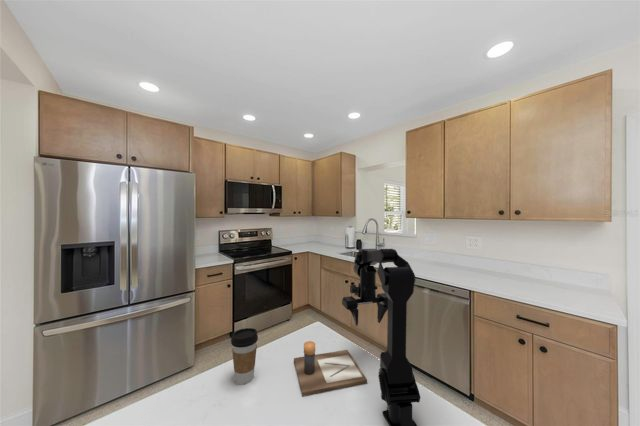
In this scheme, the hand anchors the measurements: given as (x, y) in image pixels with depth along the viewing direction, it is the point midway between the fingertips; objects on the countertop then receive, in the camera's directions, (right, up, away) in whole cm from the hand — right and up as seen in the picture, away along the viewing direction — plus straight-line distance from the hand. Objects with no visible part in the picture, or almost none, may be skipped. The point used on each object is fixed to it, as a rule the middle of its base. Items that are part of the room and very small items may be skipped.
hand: (367, 323), depth 86 cm
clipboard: (-15, -13, -7) cm, 21 cm away
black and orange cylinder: (-21, -12, -9) cm, 26 cm away
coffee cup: (-43, -13, -10) cm, 46 cm away
